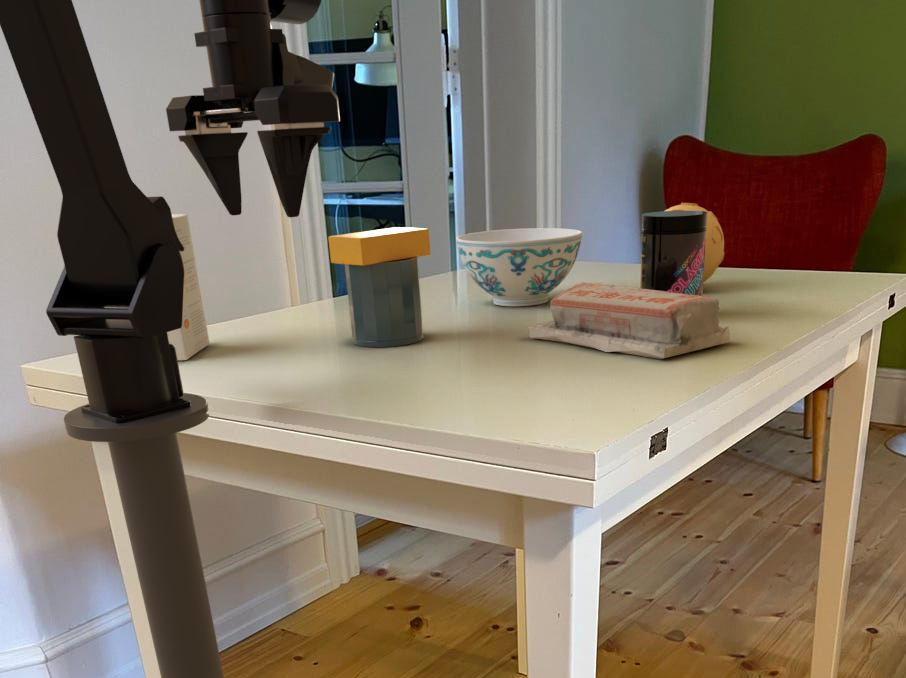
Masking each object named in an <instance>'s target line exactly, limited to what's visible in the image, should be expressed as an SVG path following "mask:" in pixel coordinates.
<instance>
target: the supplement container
mask: <svg viewBox="0 0 906 678" xmlns="http://www.w3.org/2000/svg"><path fill="white" fill-rule="evenodd" d="M706 226H707V212H705V211H665V210H662V211H653V212H652V211H651V212H645V213H642V214H641V229H640V231H641V247H640V248H641V249H640V284H639V288H640V289H649V290H658V291H667V292H675V293H682V294H689V295H699V296H704V283H703V278H704V260H705V242H706V230H707V227H706Z"/></svg>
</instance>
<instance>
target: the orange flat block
mask: <svg viewBox="0 0 906 678" xmlns="http://www.w3.org/2000/svg"><path fill="white" fill-rule="evenodd" d="M327 237H328V246H329V247H328V248H329V256H330V263H331V264H337V265H345V264H349V265H361V266H364V265H370V264H376V263H383V262H389V261H395V260H401V259H407V258H413V257H418V258H420V257H424V256H425V257H426V256H431V243H430V241H431V240H430V229H429V228H425V227H424V228H423V227H400V226H395V227H388V228H380V229H373V230H365V231H358V232H350V233H343V234H336V235H329V236H327Z"/></svg>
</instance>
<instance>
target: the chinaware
mask: <svg viewBox="0 0 906 678" xmlns="http://www.w3.org/2000/svg"><path fill="white" fill-rule="evenodd" d="M582 237H583V232H582V231H581V230H578V229H574V228H561V227H531V228H530V227H529V228H526V227H525V228H508V229H506V228H505V229H495V230H486V231H478V232H470V233H464V234H461V235H458V236H456V238H455V240H456V245H457V250H458V253H459V257H460V259H461V262H462V264H463V266H464V268H465V270H466V272H467V273H468V275H469V277H471V279H472V280H473V282H474V283H475V284H476V285H477V286H479V287H480V289H482V290H483V291H485V292H486V293H488V294H489V295H490V296H492V302H493V304H494V305H496V306H500V307H529V306H538V305H542V304H546V303H547V302H548V301H549V294H550V293H551V292H552V291H554V290H556V288H557V287H559V286H560V284H562V282H563V281H565V279H566V278H567V276H568V275H569V274H570V272H571V270H572V268H573V267H574V264H575V262H576V260H577V257H578V254H579V252H580V248H581V247H580V246H581V243H582Z"/></svg>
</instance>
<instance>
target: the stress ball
mask: <svg viewBox="0 0 906 678" xmlns="http://www.w3.org/2000/svg"><path fill="white" fill-rule="evenodd" d="M664 211H705V212H707V226H706V227H707V230H706V242H705V260H704V278H703V284H704V283H705V282H706V281H708V280H709V279H710V278H711V277H712V276H713V275H714V274H715V273H716V271H717V269H718V268H719V266H720V264H722V262H723V261H724V258H725V253H726V252H725V237H724V232H723V228H722V226H721V224H720V223H719V219H718V217H717V216H716V215H715V214H714V212H712V210H711V211H710V210H709V211H708V209H705V208H704V207H701V206H699V204H698V203H695V202H693V203H691V202H681V203H680V204H677V205H674V206H671V207H669V208H667V209H665V210H664Z"/></svg>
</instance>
